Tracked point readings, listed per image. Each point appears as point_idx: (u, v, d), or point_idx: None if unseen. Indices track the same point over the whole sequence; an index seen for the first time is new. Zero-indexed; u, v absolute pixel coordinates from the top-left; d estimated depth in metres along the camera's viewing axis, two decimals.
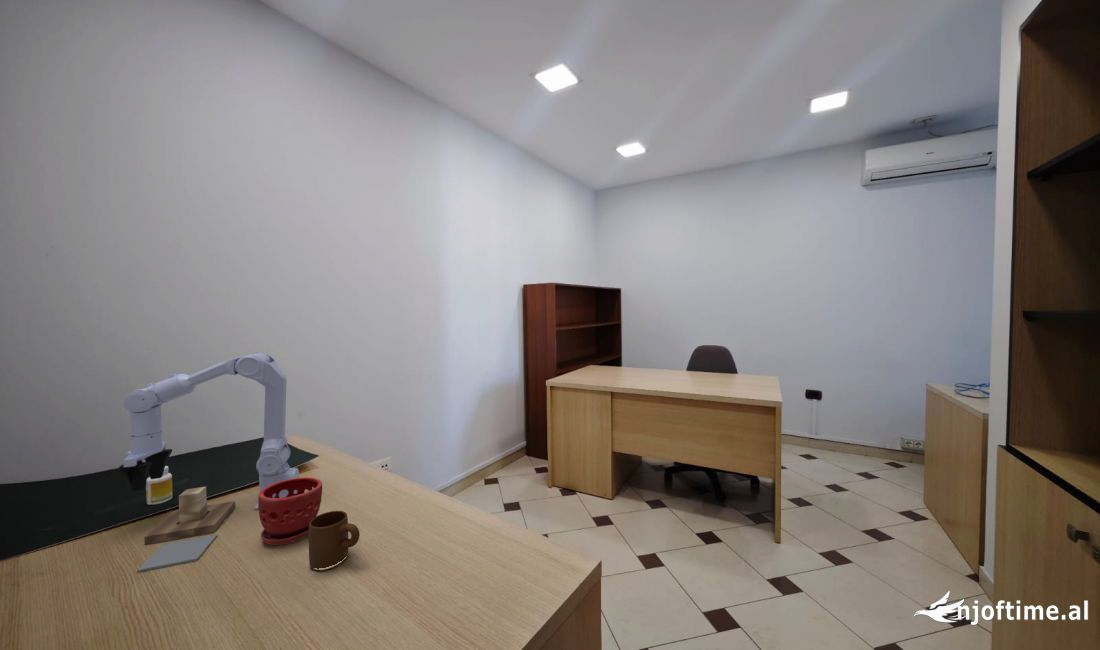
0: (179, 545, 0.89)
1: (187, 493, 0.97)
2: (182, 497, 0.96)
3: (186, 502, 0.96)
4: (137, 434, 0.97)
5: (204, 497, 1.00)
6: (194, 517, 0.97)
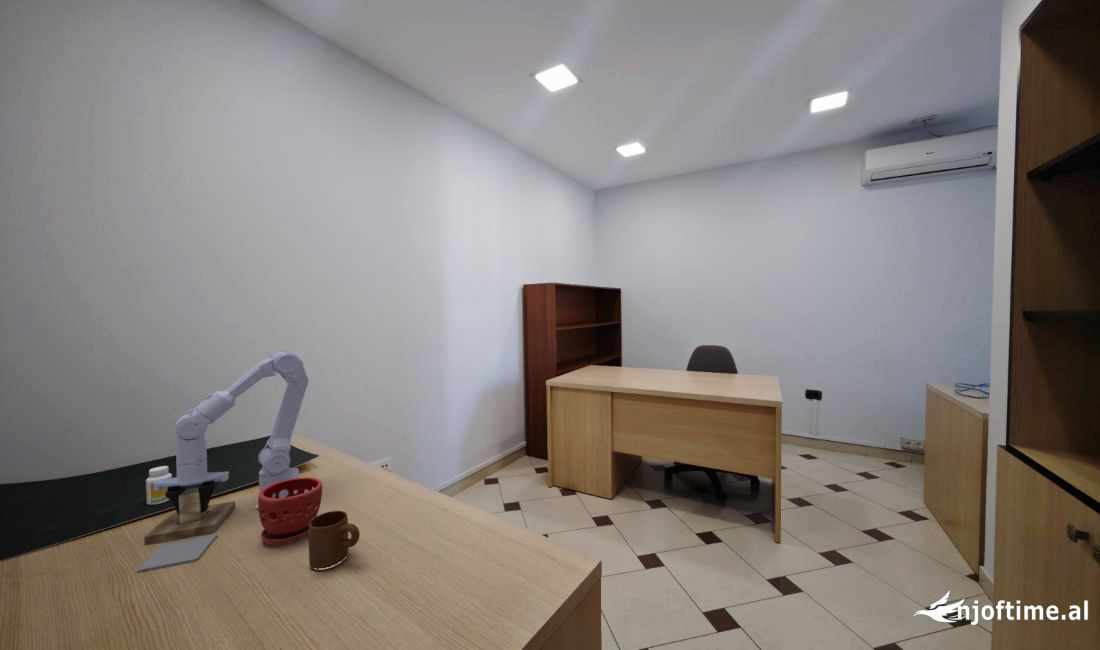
0: (179, 545, 0.89)
1: (187, 493, 0.97)
2: (182, 497, 0.96)
3: (186, 502, 0.96)
4: (190, 461, 0.96)
5: None
6: (194, 517, 0.97)
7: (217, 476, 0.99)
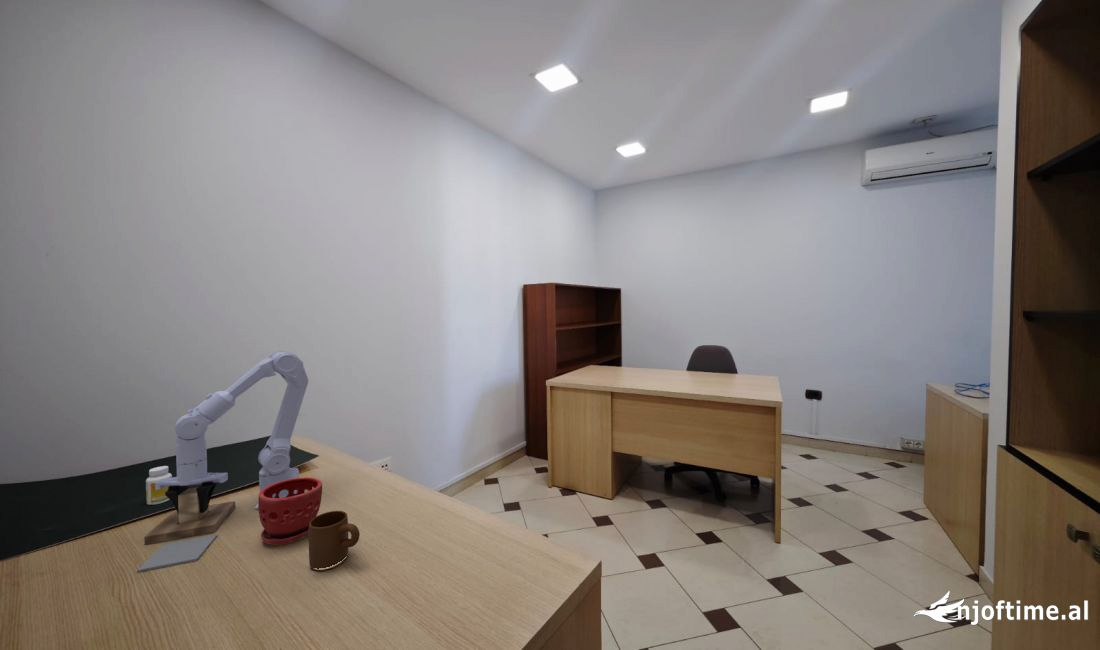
0: (179, 545, 0.89)
1: (186, 493, 0.97)
2: (181, 497, 0.96)
3: (185, 502, 0.96)
4: (190, 461, 0.96)
5: None
6: (193, 517, 0.96)
7: (215, 477, 0.98)
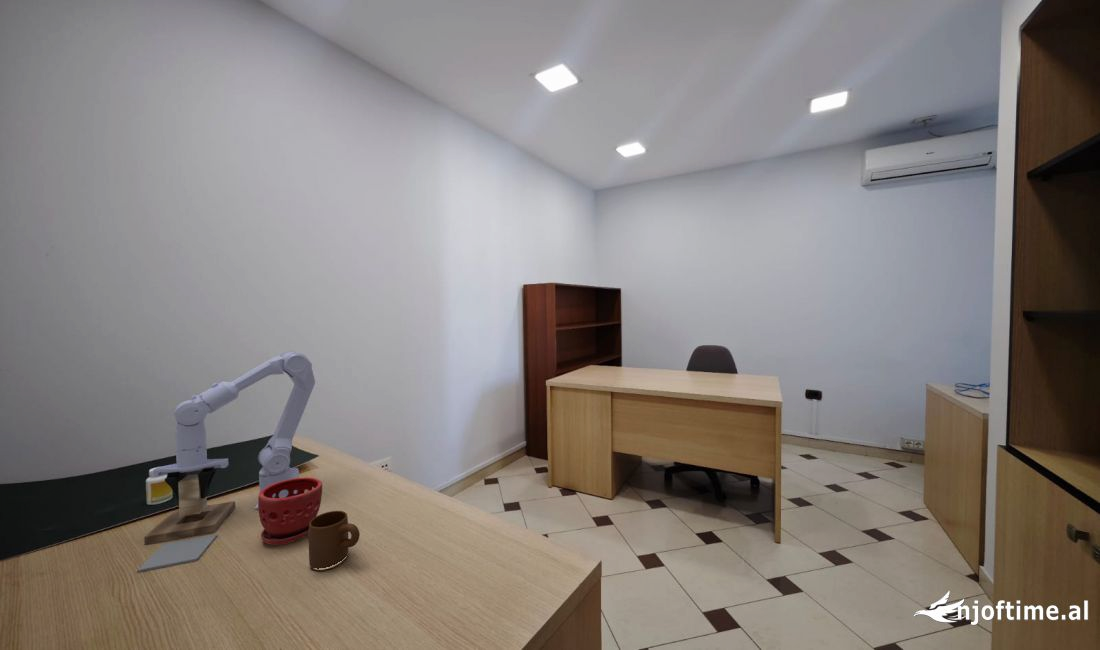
0: (179, 545, 0.89)
1: (187, 479, 0.97)
2: (182, 483, 0.96)
3: (186, 488, 0.96)
4: (189, 447, 0.95)
5: None
6: (194, 503, 0.97)
7: (217, 463, 0.99)
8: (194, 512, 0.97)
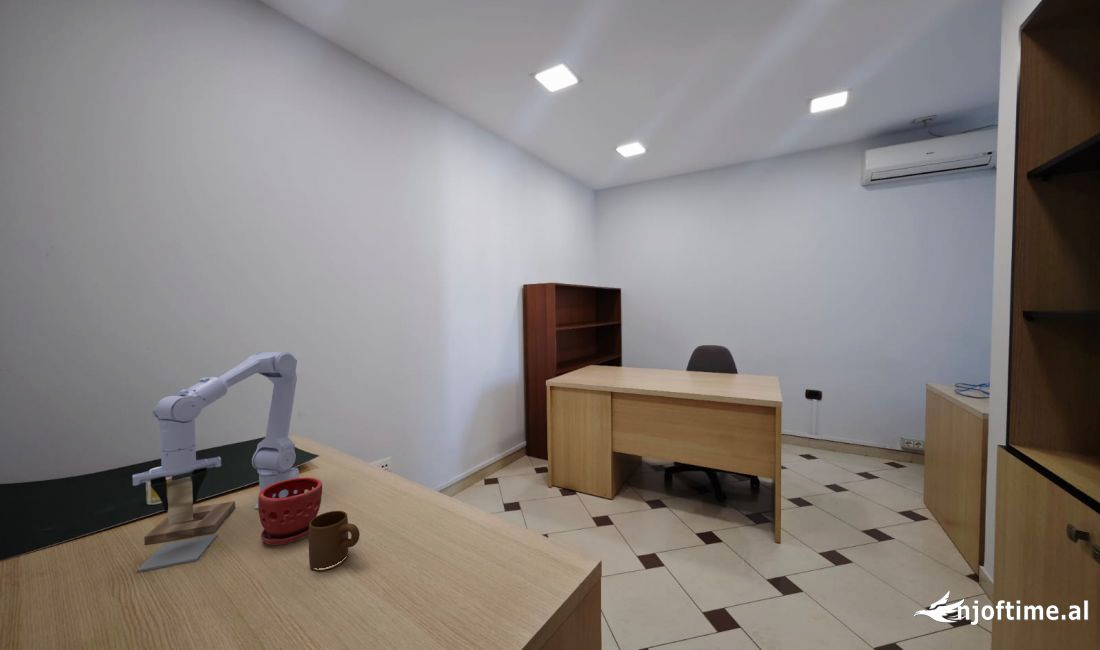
0: (179, 545, 0.89)
1: (176, 483, 0.86)
2: (172, 488, 0.85)
3: (177, 493, 0.86)
4: (186, 446, 0.86)
5: None
6: (187, 509, 0.87)
7: (212, 461, 0.91)
8: (187, 518, 0.87)
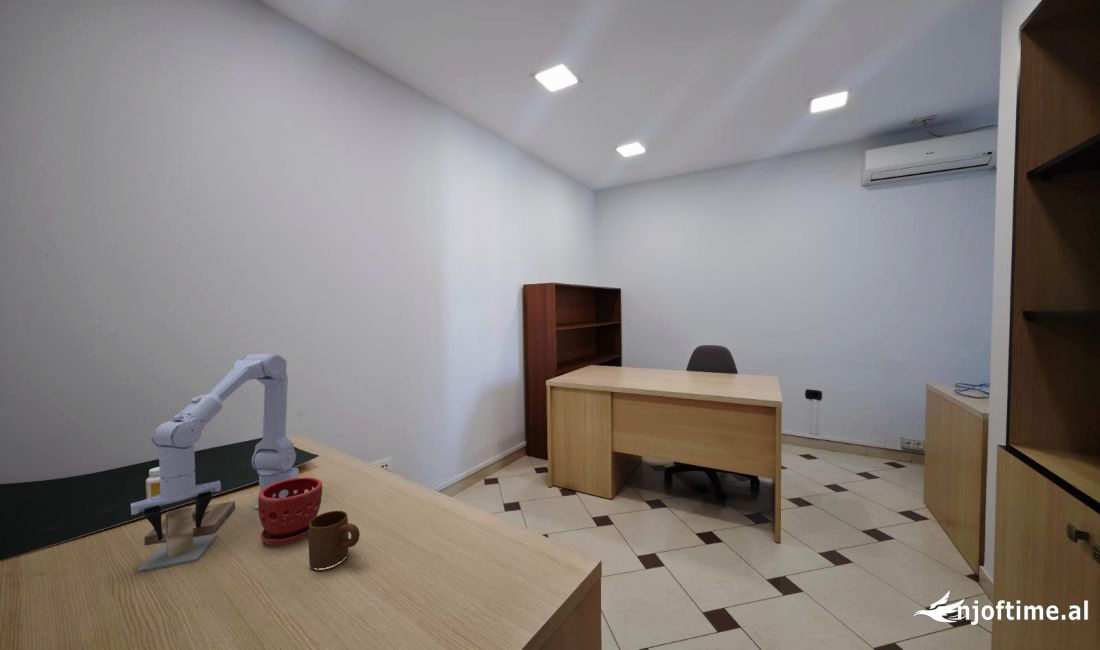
0: None
1: (175, 514, 0.85)
2: (172, 519, 0.84)
3: (177, 524, 0.85)
4: (186, 472, 0.85)
5: None
6: (187, 539, 0.86)
7: (211, 486, 0.90)
8: (187, 549, 0.86)
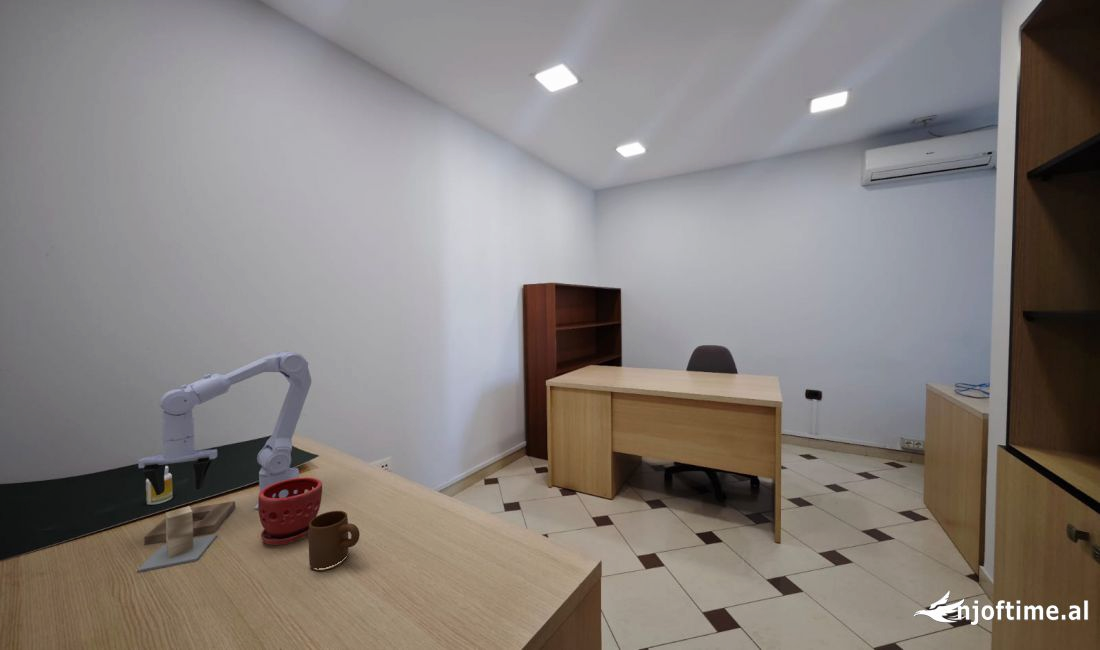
0: None
1: (175, 514, 0.85)
2: (172, 519, 0.84)
3: (177, 524, 0.85)
4: (177, 437, 0.93)
5: None
6: (187, 539, 0.86)
7: (205, 453, 0.96)
8: (187, 549, 0.86)
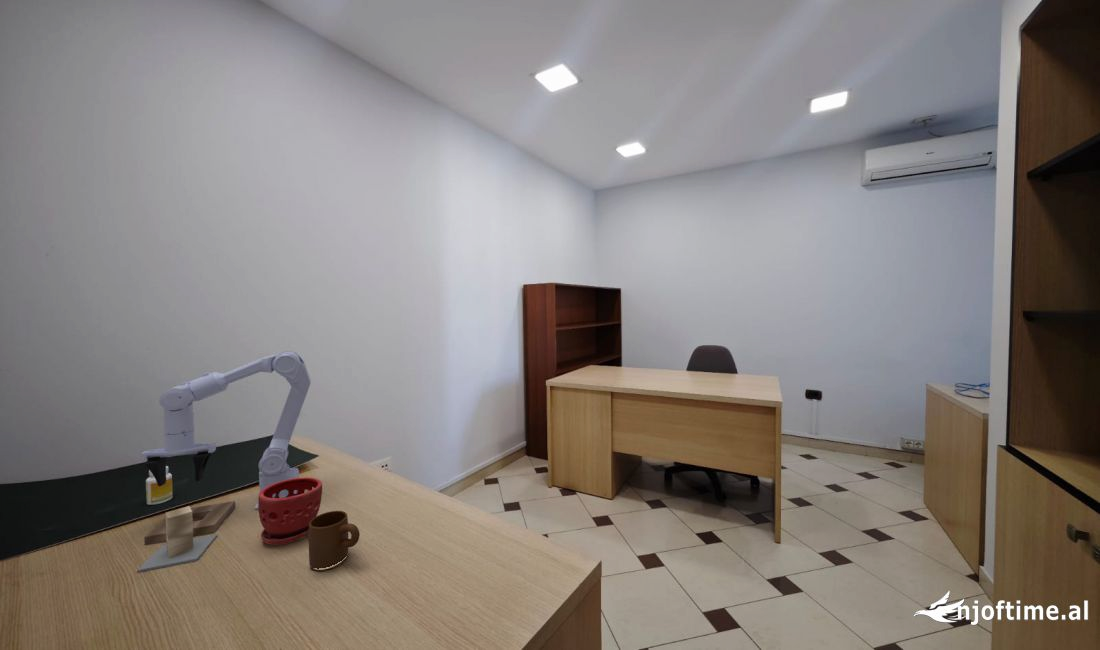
0: None
1: (175, 514, 0.85)
2: (172, 519, 0.84)
3: (177, 524, 0.85)
4: (173, 432, 0.97)
5: None
6: (187, 539, 0.86)
7: (204, 447, 1.01)
8: (187, 549, 0.86)
